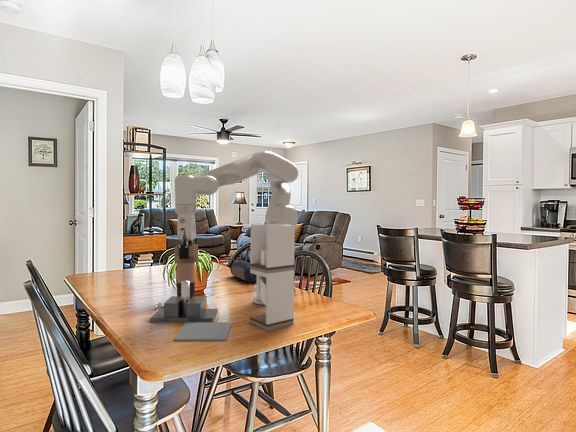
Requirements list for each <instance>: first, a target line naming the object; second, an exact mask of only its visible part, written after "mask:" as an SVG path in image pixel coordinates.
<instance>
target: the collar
mask: <svg viewBox="0 0 576 432" xmlns="http://www.w3.org/2000/svg"><path fill="white" fill-rule="evenodd" d="M188 248H189V258H188V259H179V244H178V245H176V246H174V247H173V253H174V256H173V257H174V259H173V260H174V264H175V265H177V263H195V264H196V262H198V261H199V244H194V243H193V244H188Z"/></svg>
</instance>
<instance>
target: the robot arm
mask: <svg viewBox="0 0 576 432" xmlns="http://www.w3.org/2000/svg"><path fill="white" fill-rule="evenodd" d="M263 173H265V176H266V179H267V181H268V182H269V185H270V187H271V195H270V199H269V203H268V206H267V209H266V212H265V217H264V221H265V224H285V225H295V230H296V229H297V226H298V221H299V216H298V211H297V209H296V208H295V207H294V206H293V205H290V201H291V197H292V195H291V194H292V193H291V189H290V186H289V183H294V182H295V181H296V180H297V178H298V176H299V169H298V167H297V166H296V164H295V163H294V162H292V161H290V160H289V159H286V158H284V157H282V156H280V155H279V154H277V153H275V152H273V151H270V150H269V151H268V150H264V151H259V152H255V153H252V154H251V153H250V154H249V155H246V156H244V157H241V158H239V159H236V160H234V161H231V162H229V163H225V164H224V165H221V166H219V167H216V168H213V169H210V170H209V171H208V170H207V171H205V172H203V173H201V174H197V175H196V176H194V175H191V174H190V175H187V174H186V175H185V174H182V175H177V176H175V178H174V210H175V211H174V213H175V214H177V222H176V223H177V227H176V228H177V230H176V231H177V233H176V234H177V240H178V241H179V242H178V245H179V259H188V258H189V248H188V244H194V239H196V238H197V226H196V216H195V214H197V196H199V197H200V196H206V197H207V196H212V195H214V194H216V193H217V192H218V190H219V188H221V187H225V186H229V185H230V186H231V185H236V184H238V183H241V182H244V181H245V180H248V179H249V178H252V177H254V176H257V175H259V174H263ZM252 302H253V303H254V304H255V305H256V304H257V305H262V306H266V305H265V304H264V303H263V302H262V301H261V298H260V276H259V275H257V282H256V296H255V297H253V298H252Z"/></svg>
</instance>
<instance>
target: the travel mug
mask: <svg viewBox="0 0 576 432" xmlns="http://www.w3.org/2000/svg"><path fill="white" fill-rule="evenodd" d="M183 280H189V281H190V299H191V298H192V296H195V293H196V289H195V288H196V262H195V263H176V296H181V281H183Z"/></svg>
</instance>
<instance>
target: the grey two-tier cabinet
mask: <svg viewBox="0 0 576 432" xmlns="http://www.w3.org/2000/svg"><path fill="white" fill-rule="evenodd" d="M295 232H296V229H295V225H285V224H267V223H263V224H262V223H260V224H250V256H249V257H250V262H249V263H250V273H252V274H256V275H259V276H260V298H261V301H262V302H263V303H264V304H265V305H264V306H265V313H261V314H257V315H252V316H249V323H250V324H251V325H254V326H257V327H259V328H261V329H263V330H265V331H271V330H275V329H279V328H282V327H286V326H287V327H288V326H291V325H295V324H294V321H295V320H294V315H295V314H294V312H295V311H294V308H295V305H294V304H295V301H294V300H295V234H296V233H295Z"/></svg>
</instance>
